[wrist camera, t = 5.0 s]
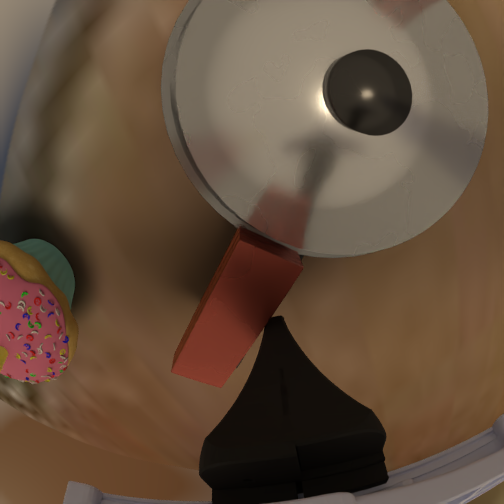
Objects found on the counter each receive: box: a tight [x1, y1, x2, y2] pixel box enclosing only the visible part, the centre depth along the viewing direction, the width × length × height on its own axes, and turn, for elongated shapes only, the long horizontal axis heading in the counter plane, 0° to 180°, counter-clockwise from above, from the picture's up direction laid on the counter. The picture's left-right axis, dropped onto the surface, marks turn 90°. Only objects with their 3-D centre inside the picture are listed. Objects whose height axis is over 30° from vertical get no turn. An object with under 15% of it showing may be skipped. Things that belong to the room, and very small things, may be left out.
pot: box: [161, 0, 373, 368], centre depth 12 cm, size 13×23×4 cm, turn 156°
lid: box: [171, 0, 488, 388], centre depth 9 cm, size 23×11×2 cm, turn 153°
